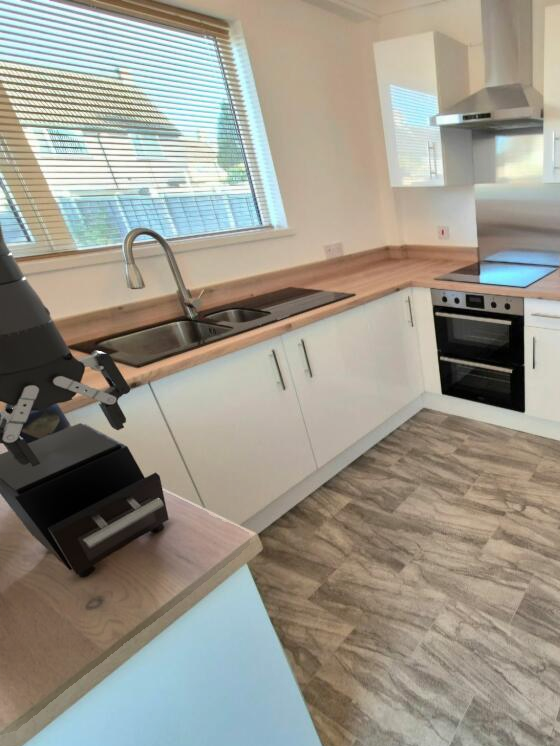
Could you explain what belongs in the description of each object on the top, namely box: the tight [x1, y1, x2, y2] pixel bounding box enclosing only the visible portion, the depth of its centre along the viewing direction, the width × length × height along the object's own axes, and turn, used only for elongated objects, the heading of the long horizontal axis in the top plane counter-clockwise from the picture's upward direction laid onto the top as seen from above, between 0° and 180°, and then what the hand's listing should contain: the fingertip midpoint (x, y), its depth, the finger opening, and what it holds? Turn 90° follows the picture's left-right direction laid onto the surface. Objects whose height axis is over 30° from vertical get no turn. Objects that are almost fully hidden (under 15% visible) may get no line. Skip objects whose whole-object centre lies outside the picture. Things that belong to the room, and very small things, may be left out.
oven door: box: [48, 472, 170, 576], centre depth 65 cm, size 5×13×14 cm, turn 152°
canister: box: [0, 403, 72, 451], centre depth 86 cm, size 10×10×18 cm
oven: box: [0, 422, 165, 579], centre depth 70 cm, size 16×13×18 cm
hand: (78, 444), depth 55 cm, fingers open, 8 cm apart
